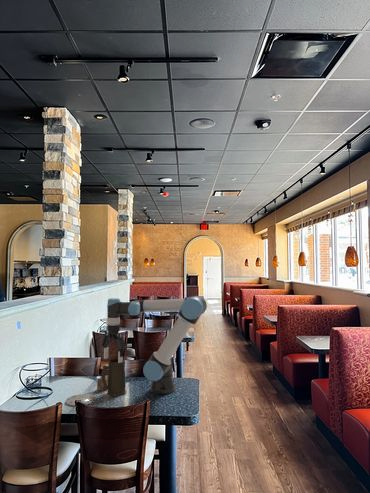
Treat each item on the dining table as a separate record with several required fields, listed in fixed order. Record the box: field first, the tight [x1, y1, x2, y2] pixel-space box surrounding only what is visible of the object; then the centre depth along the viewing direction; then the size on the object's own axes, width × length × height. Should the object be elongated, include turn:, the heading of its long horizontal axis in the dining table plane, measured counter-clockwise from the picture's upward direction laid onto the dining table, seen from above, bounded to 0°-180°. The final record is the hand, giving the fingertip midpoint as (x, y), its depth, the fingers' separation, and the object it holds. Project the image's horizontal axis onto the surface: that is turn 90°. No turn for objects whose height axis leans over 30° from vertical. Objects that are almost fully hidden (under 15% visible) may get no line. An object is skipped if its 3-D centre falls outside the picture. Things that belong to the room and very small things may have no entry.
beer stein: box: [100, 357, 126, 397], centre depth 226 cm, size 15×11×20 cm
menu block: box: [96, 374, 108, 392], centre depth 235 cm, size 5×9×7 cm, turn 149°
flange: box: [65, 393, 96, 407], centre depth 214 cm, size 16×16×1 cm
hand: (113, 360), depth 226 cm, fingers open, 13 cm apart
